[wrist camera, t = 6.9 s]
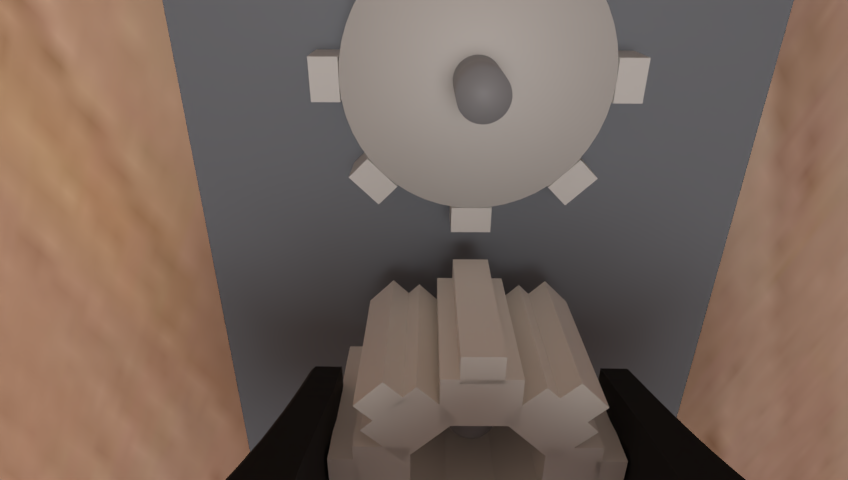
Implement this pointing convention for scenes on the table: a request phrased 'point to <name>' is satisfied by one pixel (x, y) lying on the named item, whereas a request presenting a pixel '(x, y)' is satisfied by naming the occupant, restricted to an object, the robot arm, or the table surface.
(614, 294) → the gear board
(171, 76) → the table surface
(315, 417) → the robot arm
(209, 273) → the table surface
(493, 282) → the idler gear
